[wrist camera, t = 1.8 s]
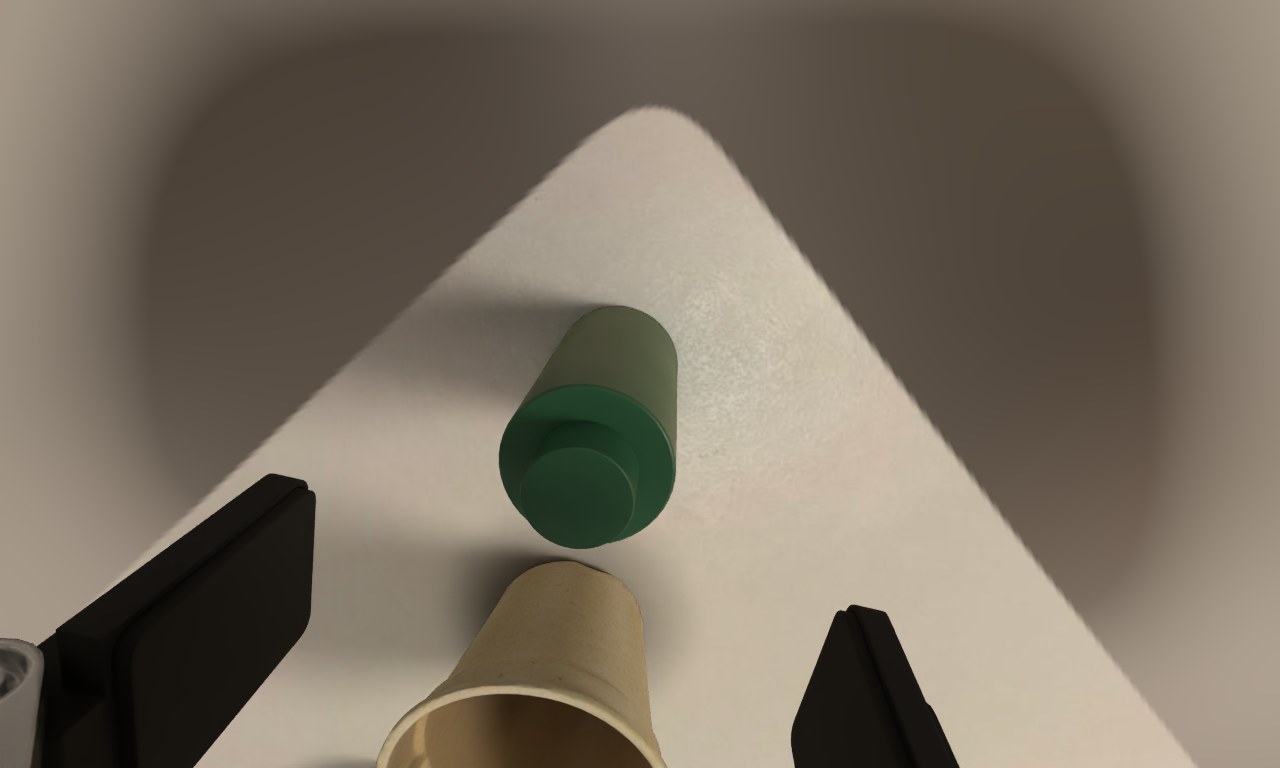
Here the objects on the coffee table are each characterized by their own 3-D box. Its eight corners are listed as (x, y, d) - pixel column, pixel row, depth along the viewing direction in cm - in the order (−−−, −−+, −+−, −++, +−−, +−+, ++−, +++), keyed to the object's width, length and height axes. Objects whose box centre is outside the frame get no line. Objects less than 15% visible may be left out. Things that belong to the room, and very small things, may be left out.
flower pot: (420, 618, 28) (314, 804, 20) (554, 480, 25) (495, 632, 17) (581, 734, 30) (545, 949, 22) (723, 617, 27) (742, 813, 19)
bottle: (536, 341, 24) (441, 464, 14) (640, 283, 23) (611, 373, 13) (598, 437, 25) (547, 609, 15) (698, 385, 24) (710, 535, 14)
